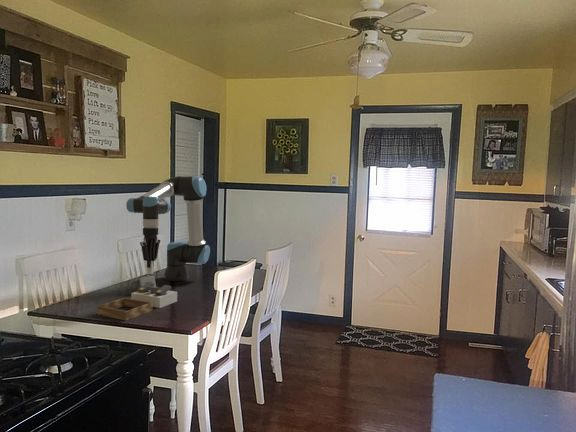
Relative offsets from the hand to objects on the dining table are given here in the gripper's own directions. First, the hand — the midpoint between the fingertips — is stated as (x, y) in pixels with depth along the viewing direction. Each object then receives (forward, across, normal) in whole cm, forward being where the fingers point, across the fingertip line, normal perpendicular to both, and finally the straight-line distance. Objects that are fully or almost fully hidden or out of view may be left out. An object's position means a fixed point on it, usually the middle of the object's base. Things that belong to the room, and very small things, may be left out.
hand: (150, 273), depth 244 cm
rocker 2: (+9, -3, 0) cm, 9 cm away
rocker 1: (+9, -3, -6) cm, 11 cm away
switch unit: (+16, -4, 0) cm, 16 cm away
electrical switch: (+16, -16, -16) cm, 28 cm away
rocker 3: (+9, -3, +5) cm, 11 cm away
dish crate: (+16, +18, 0) cm, 24 cm away
